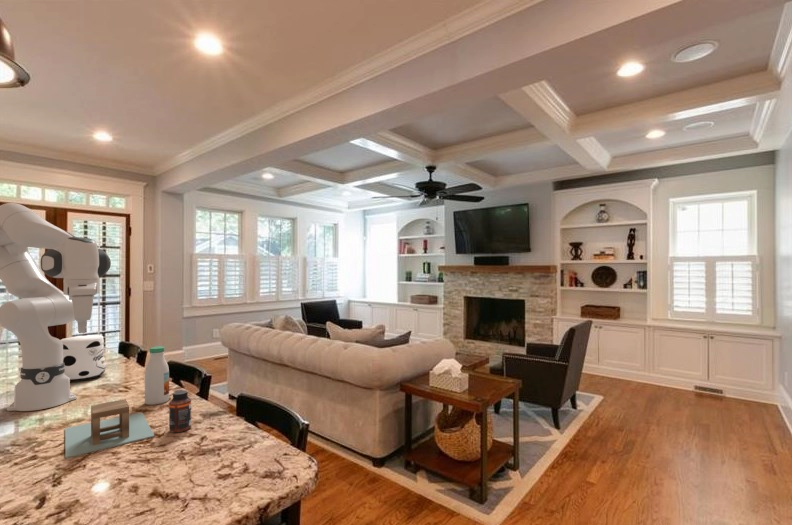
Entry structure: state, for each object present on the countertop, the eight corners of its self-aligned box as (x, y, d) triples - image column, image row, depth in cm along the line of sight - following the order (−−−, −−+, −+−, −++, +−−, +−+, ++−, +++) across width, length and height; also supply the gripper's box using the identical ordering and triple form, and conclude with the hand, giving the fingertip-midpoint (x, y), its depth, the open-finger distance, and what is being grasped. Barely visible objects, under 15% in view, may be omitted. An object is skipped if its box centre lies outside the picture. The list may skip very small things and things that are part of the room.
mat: (65, 429, 121) (65, 428, 121) (142, 413, 134) (142, 412, 134) (65, 458, 103) (65, 456, 103) (154, 436, 116) (154, 435, 116)
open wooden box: (91, 405, 116) (92, 413, 109) (125, 399, 121) (129, 406, 115) (91, 435, 116) (92, 445, 109) (125, 427, 121) (129, 436, 115)
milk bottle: (157, 406, 141) (157, 350, 141) (139, 404, 143) (139, 349, 143) (174, 399, 149) (174, 345, 149) (156, 397, 150) (156, 345, 150)
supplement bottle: (196, 426, 123) (195, 390, 123) (179, 434, 117) (179, 396, 117) (181, 424, 125) (181, 388, 125) (164, 431, 119) (164, 394, 119)
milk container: (113, 376, 180) (113, 336, 180) (65, 386, 165) (65, 343, 165) (96, 371, 189) (96, 333, 189) (50, 380, 174) (50, 339, 175)
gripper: (68, 287, 131) (68, 329, 131) (69, 290, 115) (69, 338, 115) (92, 286, 135) (92, 327, 135) (96, 289, 119) (96, 335, 119)
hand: (81, 332), depth 125 cm, fingers closed
